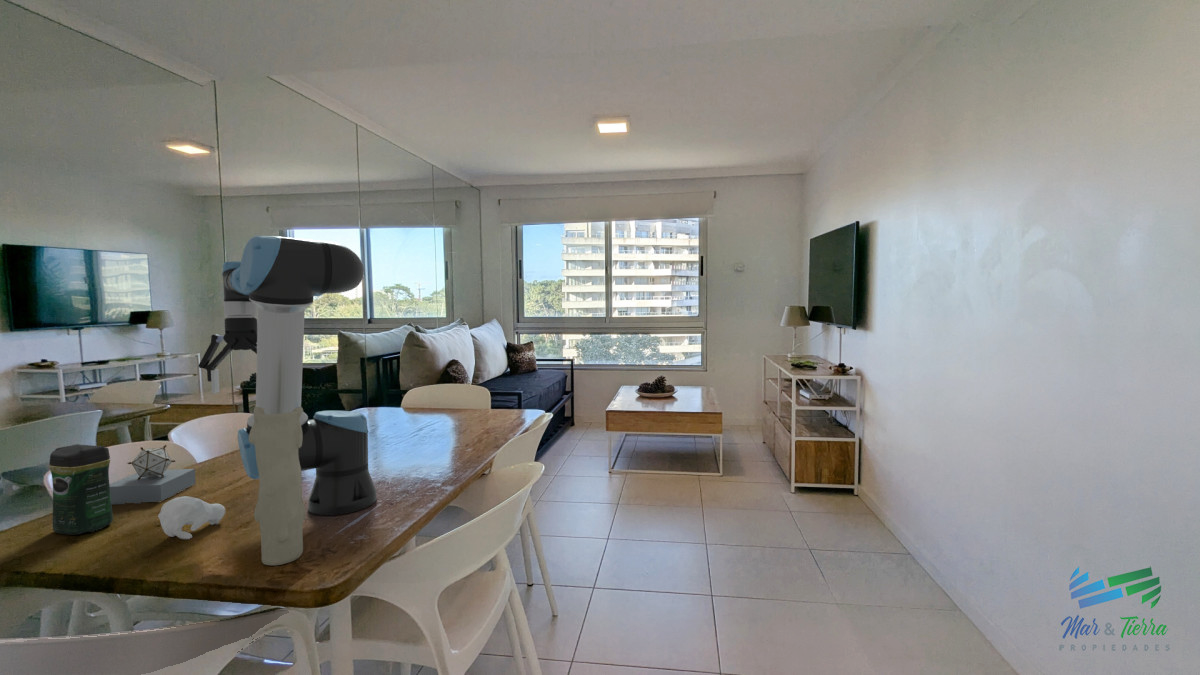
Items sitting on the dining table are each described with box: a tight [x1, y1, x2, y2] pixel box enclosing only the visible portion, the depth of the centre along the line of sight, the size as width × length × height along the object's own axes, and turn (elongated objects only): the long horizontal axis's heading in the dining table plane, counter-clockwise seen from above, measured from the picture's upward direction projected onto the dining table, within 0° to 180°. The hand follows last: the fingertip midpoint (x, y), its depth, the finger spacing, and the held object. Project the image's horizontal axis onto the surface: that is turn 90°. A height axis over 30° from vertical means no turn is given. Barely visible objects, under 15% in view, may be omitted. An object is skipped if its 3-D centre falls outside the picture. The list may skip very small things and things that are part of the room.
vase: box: [249, 406, 306, 566], centre depth 97 cm, size 9×8×30 cm
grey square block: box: [109, 468, 197, 505], centre depth 131 cm, size 13×13×5 cm
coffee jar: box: [48, 443, 114, 536], centre depth 110 cm, size 10×8×19 cm
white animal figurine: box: [157, 495, 226, 540], centre depth 109 cm, size 6×8×12 cm
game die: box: [126, 444, 176, 480], centre depth 131 cm, size 9×8×10 cm
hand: (243, 392), depth 142 cm, fingers open, 13 cm apart
